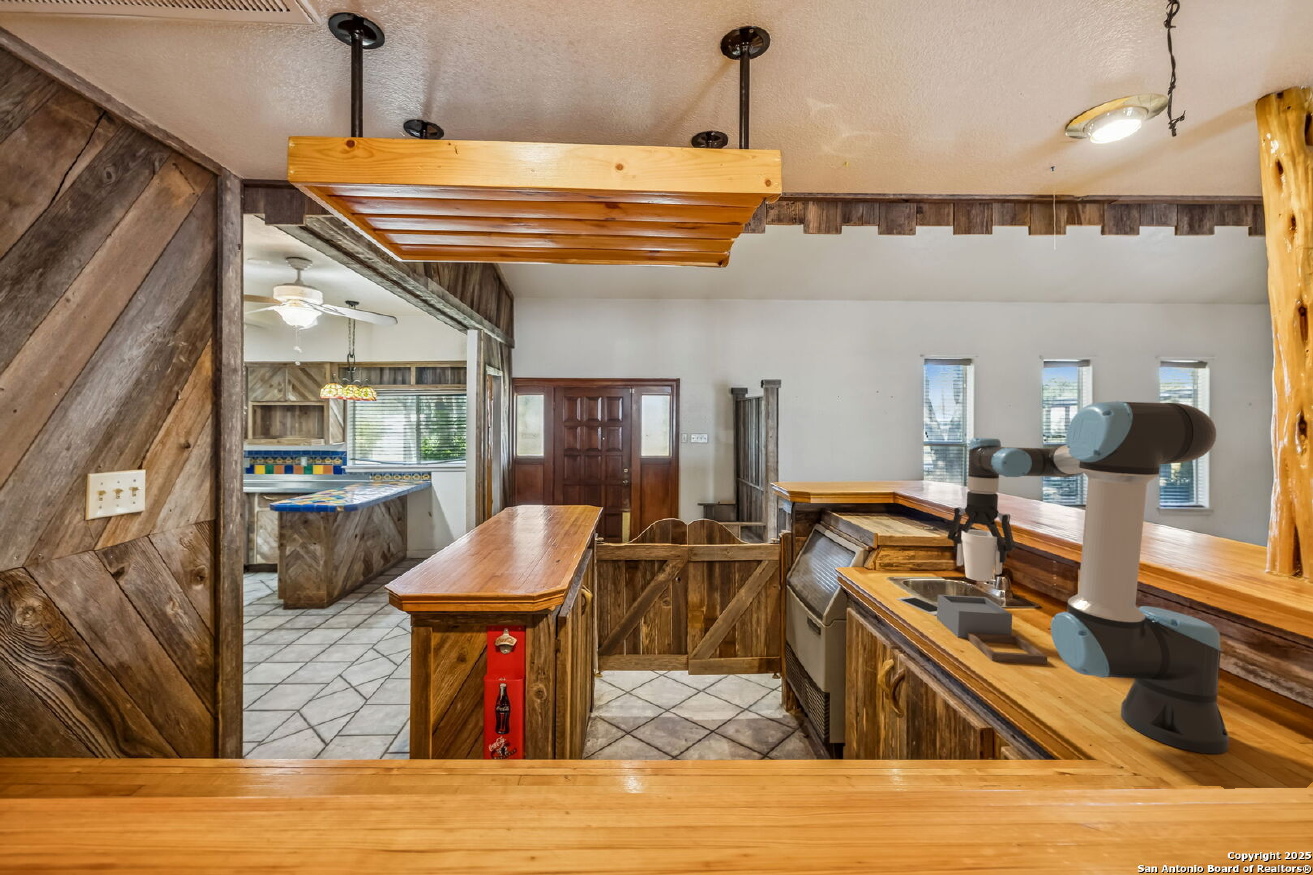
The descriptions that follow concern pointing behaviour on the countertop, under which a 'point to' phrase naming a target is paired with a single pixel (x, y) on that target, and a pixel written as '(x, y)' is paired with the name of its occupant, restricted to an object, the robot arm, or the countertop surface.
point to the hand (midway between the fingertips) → (978, 569)
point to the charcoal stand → (973, 615)
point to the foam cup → (979, 554)
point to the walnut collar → (1032, 656)
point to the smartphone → (919, 604)
